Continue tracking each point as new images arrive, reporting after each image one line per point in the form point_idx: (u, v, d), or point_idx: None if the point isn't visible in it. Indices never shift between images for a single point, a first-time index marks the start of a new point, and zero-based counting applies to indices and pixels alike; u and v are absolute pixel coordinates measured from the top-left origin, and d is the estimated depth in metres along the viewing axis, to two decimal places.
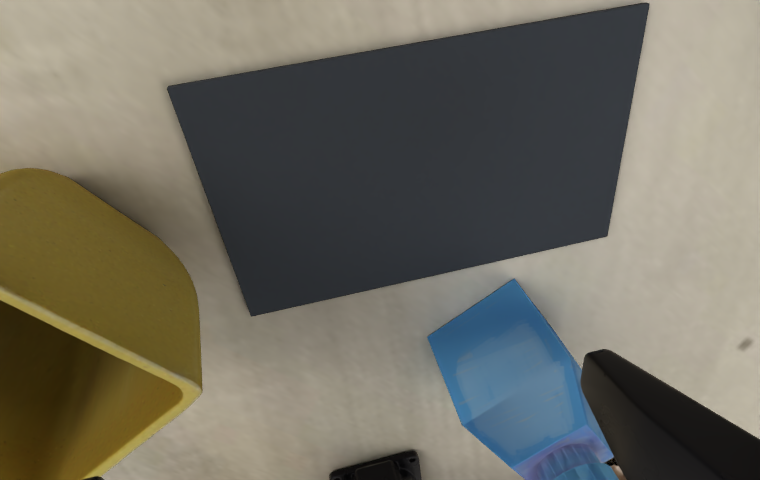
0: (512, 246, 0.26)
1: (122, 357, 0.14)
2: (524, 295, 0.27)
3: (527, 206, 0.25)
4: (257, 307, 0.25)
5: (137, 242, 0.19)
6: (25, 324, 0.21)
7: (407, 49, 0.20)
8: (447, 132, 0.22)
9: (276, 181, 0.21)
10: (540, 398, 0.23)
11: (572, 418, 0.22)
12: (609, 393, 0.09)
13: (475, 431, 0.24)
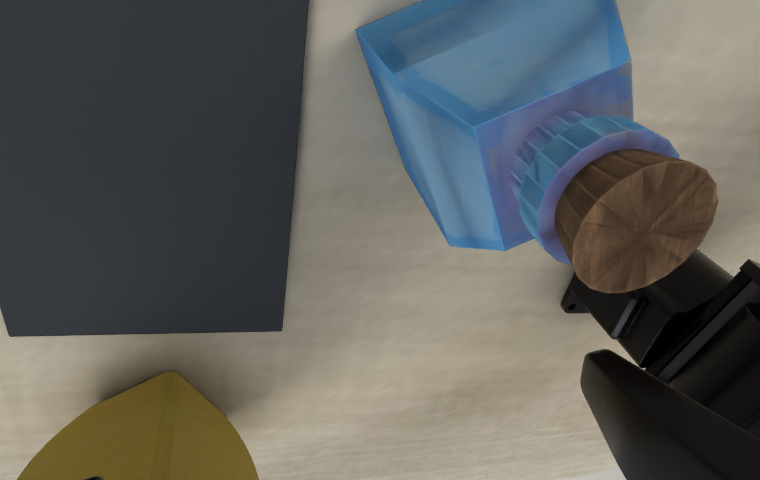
0: (283, 31, 0.17)
1: None
2: (362, 39, 0.17)
3: None
4: (272, 324, 0.25)
5: (117, 417, 0.22)
6: None
7: None
8: (68, 104, 0.17)
9: (117, 282, 0.21)
10: (434, 150, 0.14)
11: (463, 138, 0.12)
12: (609, 393, 0.09)
13: (458, 242, 0.16)
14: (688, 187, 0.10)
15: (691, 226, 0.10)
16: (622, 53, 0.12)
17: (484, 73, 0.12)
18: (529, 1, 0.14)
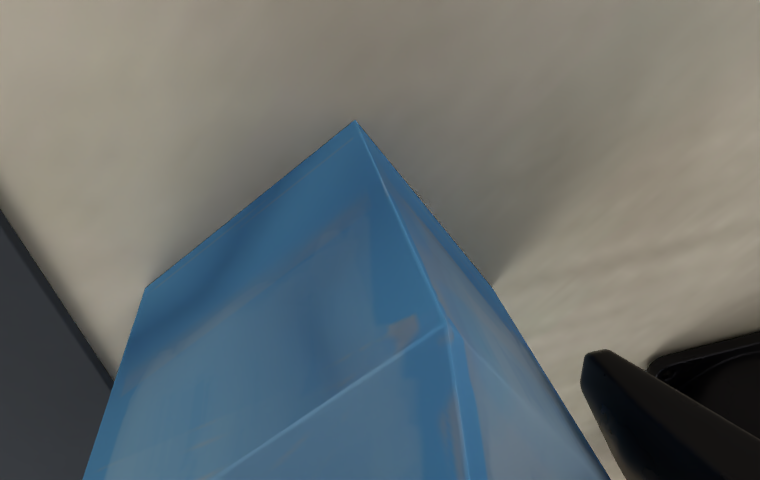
0: (31, 334, 0.11)
1: None
2: None
3: None
4: None
5: None
6: None
7: None
8: None
9: None
10: None
11: None
12: (609, 393, 0.09)
13: None
14: None
15: None
16: None
17: None
18: (307, 340, 0.06)
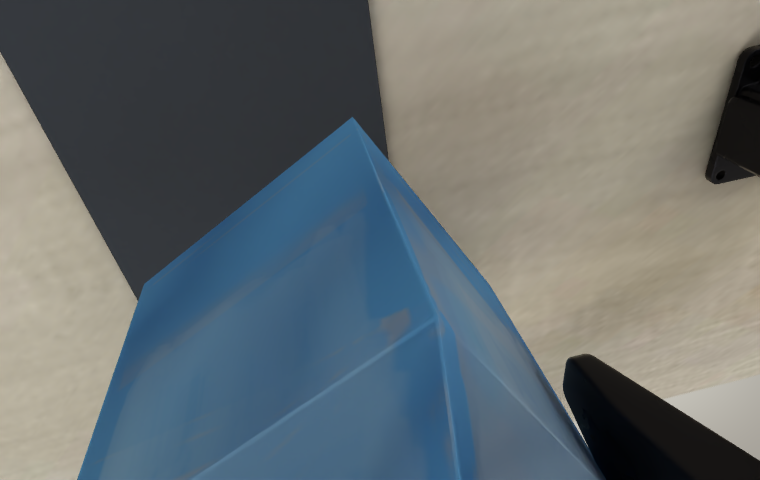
0: None
1: None
2: None
3: None
4: None
5: None
6: None
7: (53, 140, 0.17)
8: (145, 77, 0.17)
9: None
10: None
11: None
12: (589, 398, 0.08)
13: None
14: None
15: None
16: None
17: None
18: (302, 335, 0.06)
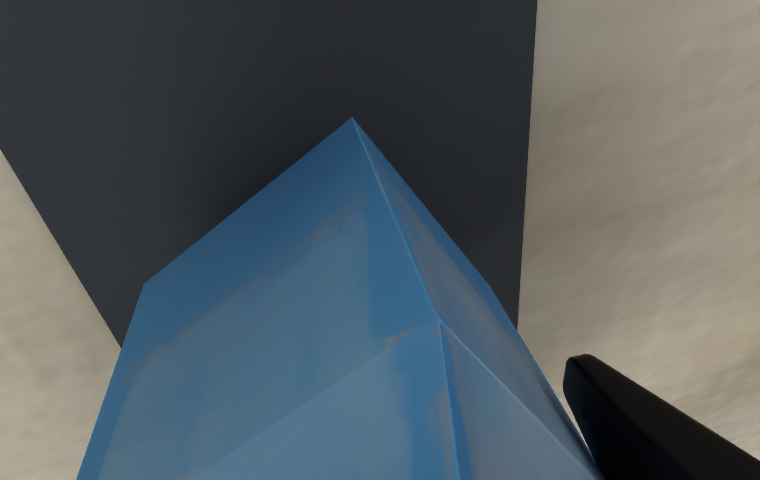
0: None
1: None
2: None
3: None
4: None
5: None
6: None
7: (7, 149, 0.10)
8: (166, 43, 0.10)
9: None
10: None
11: None
12: (589, 398, 0.08)
13: None
14: None
15: None
16: None
17: None
18: (301, 335, 0.06)
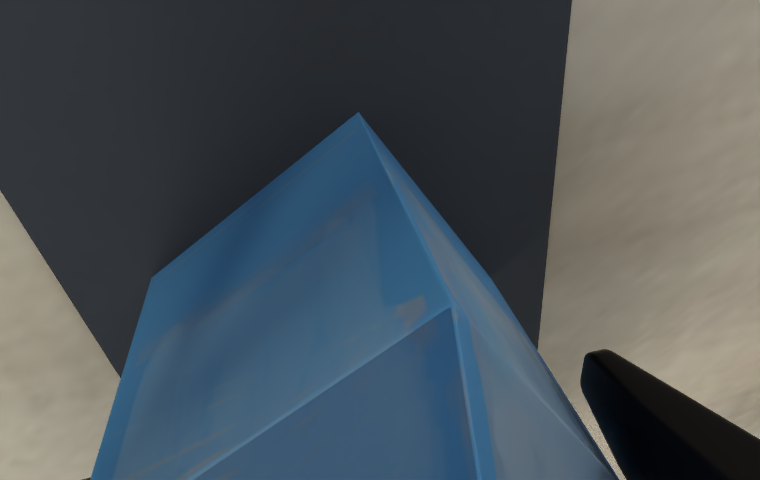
0: None
1: None
2: None
3: None
4: None
5: None
6: None
7: None
8: (166, 52, 0.09)
9: None
10: None
11: None
12: (609, 393, 0.09)
13: None
14: None
15: None
16: None
17: None
18: (316, 323, 0.06)
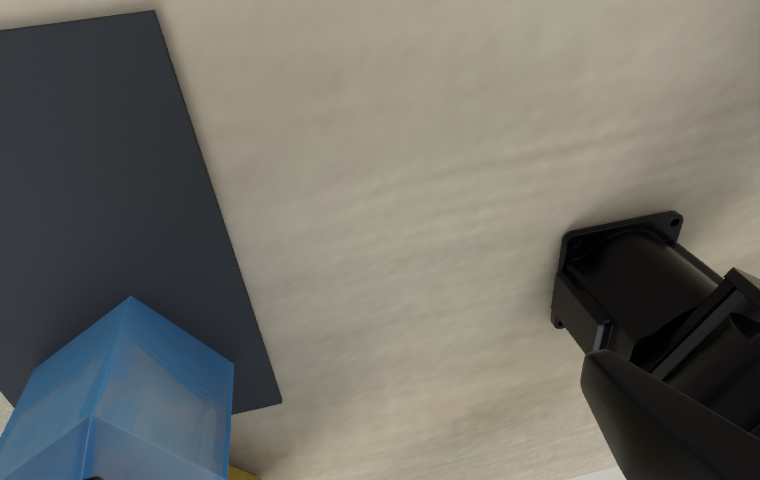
0: (184, 173, 0.19)
1: None
2: (23, 395, 0.21)
3: (113, 167, 0.18)
4: (270, 400, 0.27)
5: None
6: None
7: None
8: (29, 279, 0.20)
9: None
10: None
11: None
12: (609, 393, 0.09)
13: None
14: None
15: None
16: None
17: None
18: (64, 413, 0.17)
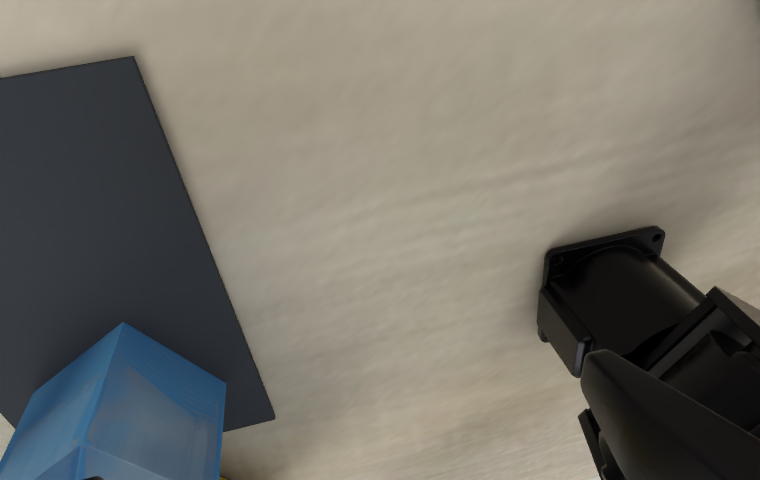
0: (169, 206, 0.19)
1: None
2: None
3: (100, 203, 0.19)
4: (264, 416, 0.27)
5: None
6: None
7: None
8: (25, 309, 0.21)
9: None
10: None
11: None
12: (609, 393, 0.09)
13: None
14: None
15: None
16: None
17: None
18: (58, 441, 0.18)
